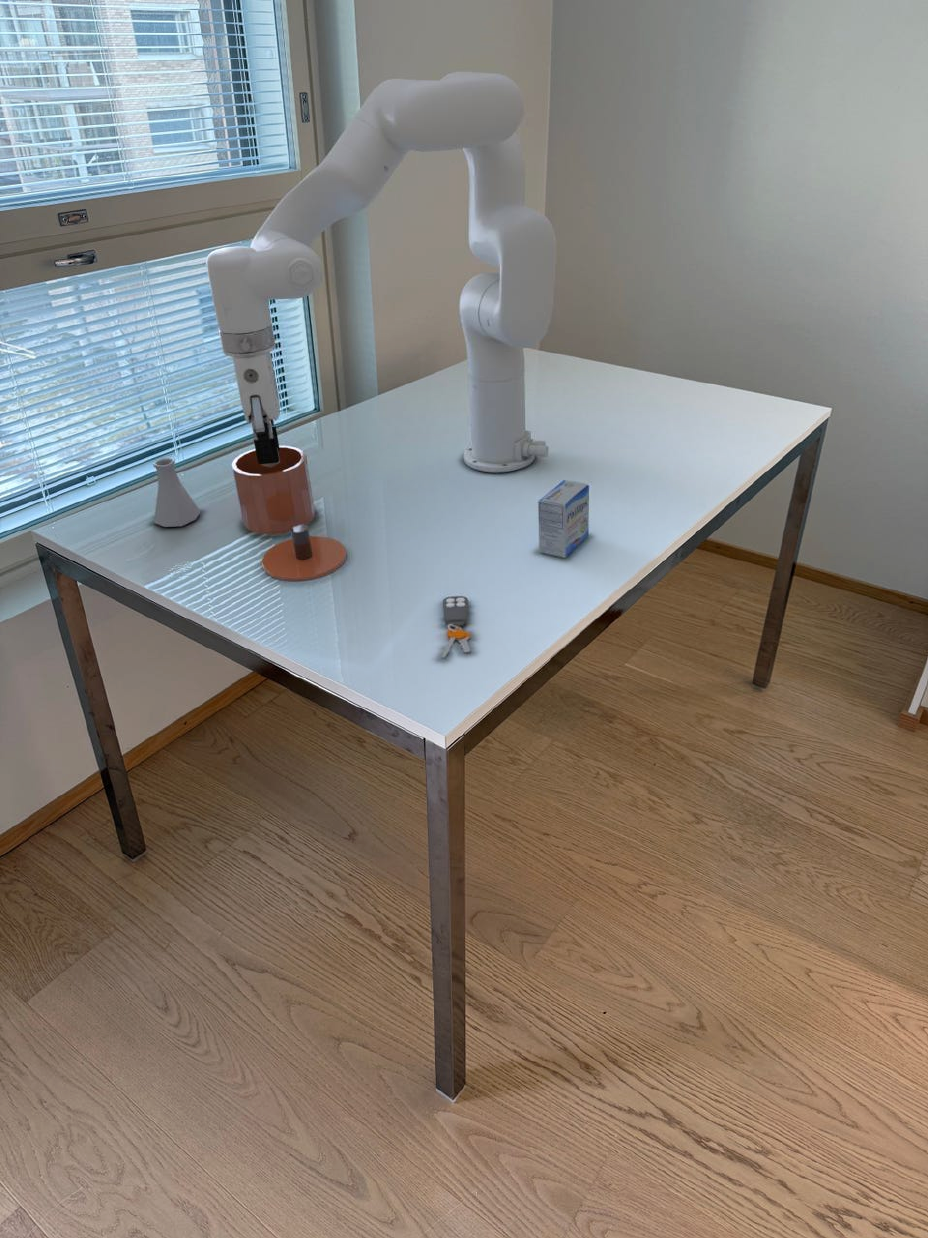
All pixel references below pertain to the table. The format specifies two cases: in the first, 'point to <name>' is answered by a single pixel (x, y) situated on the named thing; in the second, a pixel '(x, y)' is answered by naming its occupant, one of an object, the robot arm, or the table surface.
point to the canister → (274, 491)
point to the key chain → (456, 621)
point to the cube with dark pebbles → (271, 463)
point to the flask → (172, 497)
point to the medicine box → (563, 518)
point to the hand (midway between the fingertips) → (269, 456)
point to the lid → (303, 556)
